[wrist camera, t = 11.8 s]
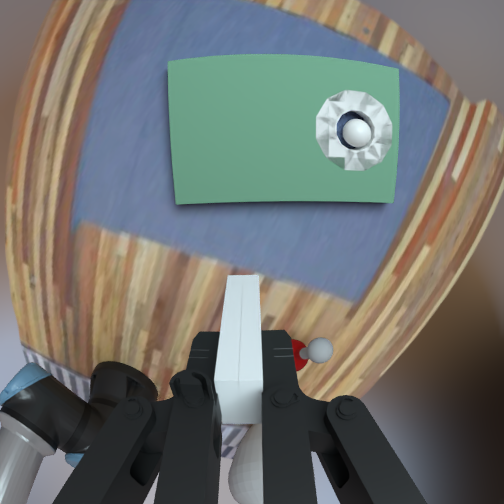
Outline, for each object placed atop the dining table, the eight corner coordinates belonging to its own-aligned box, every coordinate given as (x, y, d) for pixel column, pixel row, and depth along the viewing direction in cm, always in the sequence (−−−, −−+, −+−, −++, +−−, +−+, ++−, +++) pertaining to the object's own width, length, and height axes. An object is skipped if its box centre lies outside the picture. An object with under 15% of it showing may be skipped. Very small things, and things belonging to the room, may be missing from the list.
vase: (311, 432, 62) (323, 517, 39) (245, 444, 64) (244, 526, 42) (298, 397, 55) (312, 505, 32) (219, 411, 57) (211, 512, 34)
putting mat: (180, 199, 37) (175, 204, 35) (173, 65, 30) (167, 61, 27) (385, 197, 37) (393, 203, 35) (390, 71, 29) (398, 69, 27)
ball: (367, 150, 34) (350, 131, 34) (381, 132, 30) (363, 112, 31) (350, 155, 32) (332, 134, 33) (364, 135, 29) (344, 113, 30)
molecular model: (306, 301, 44) (317, 346, 35) (333, 314, 45) (349, 357, 36) (250, 369, 51) (250, 413, 42) (276, 378, 52) (279, 420, 43)
